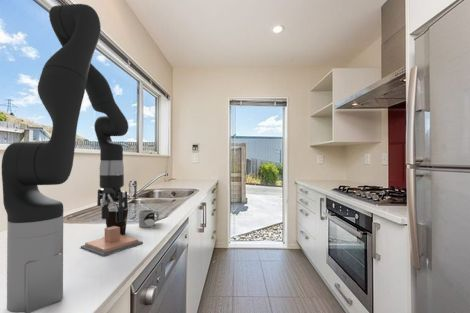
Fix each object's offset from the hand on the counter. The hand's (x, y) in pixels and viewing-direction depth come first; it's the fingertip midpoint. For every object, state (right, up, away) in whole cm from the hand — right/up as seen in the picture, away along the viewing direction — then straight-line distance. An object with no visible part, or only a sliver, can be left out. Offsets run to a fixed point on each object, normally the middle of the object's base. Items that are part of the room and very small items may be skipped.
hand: (112, 220), depth 87 cm
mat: (0, -9, 0) cm, 9 cm away
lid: (0, -8, 0) cm, 8 cm away
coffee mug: (-4, -9, +14) cm, 18 cm away
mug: (+4, -9, +27) cm, 29 cm away
